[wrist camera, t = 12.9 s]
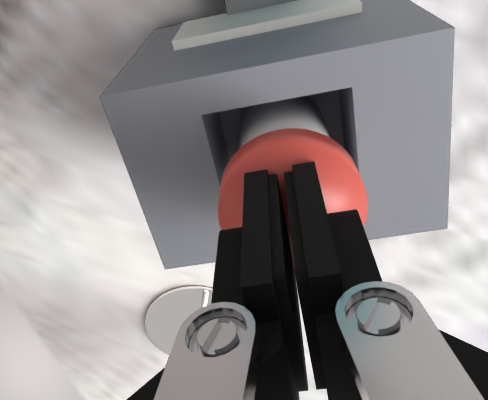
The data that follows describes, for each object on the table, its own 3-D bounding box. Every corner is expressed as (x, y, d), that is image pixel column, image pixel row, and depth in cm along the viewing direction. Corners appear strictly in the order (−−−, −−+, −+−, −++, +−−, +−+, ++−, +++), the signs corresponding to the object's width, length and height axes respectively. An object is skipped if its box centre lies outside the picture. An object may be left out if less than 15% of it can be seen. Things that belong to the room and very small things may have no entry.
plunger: (217, 88, 15) (201, 161, 10) (330, 66, 14) (362, 133, 10) (240, 184, 17) (234, 279, 12) (341, 168, 16) (372, 260, 12)
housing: (152, 21, 19) (95, 86, 12) (378, -27, 18) (454, 14, 11) (192, 158, 22) (164, 269, 15) (385, 124, 21) (447, 228, 14)
